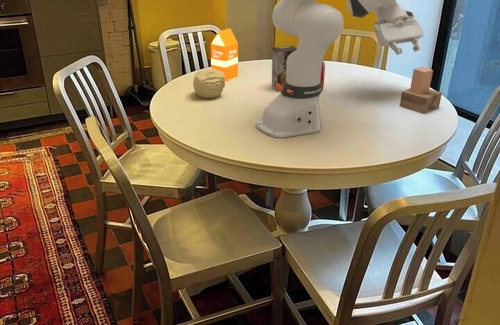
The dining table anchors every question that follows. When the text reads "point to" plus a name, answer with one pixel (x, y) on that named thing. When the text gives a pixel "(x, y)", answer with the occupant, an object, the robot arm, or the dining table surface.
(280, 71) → the coffee box
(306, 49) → the robot arm
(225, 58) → the orange juice
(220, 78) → the sculpture
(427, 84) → the salmon pink block
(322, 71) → the soda can
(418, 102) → the walnut box
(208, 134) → the dining table surface
